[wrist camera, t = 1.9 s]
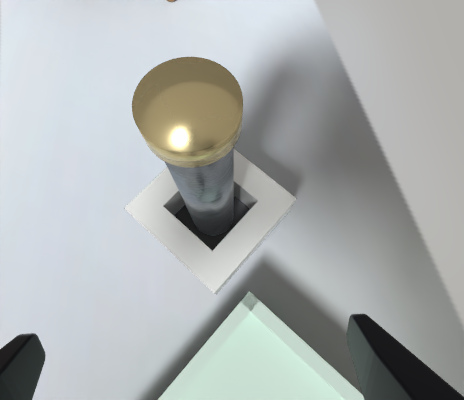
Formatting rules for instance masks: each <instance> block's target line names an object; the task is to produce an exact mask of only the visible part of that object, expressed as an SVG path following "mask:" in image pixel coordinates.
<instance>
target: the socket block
mask: <svg viewBox="0 0 464 400" xmlns="http://www.w3.org/2000/svg"><path fill="white" fill-rule="evenodd" d="M234 196H235V197H236V198H238V199H239V200H240V201H241V202H242V203H244V204H245V205H246V206H247V207H248V208H249V209H250V210H249V211H248V212H247V214H246V215H245V216H244V217H243V218H242V219H241V220H240V221H239V222H238V223H237V225H236V226H235V227H234V228H233V229H232V230H231V231H230V232H229V233H228V234H227V235H226V237H225V238H224V239H223V240H222V241H221V242H220V243H219V244H218V245H217V246H216V248H215V249H214V250H213V251H212V250H211V249H210V248H209V247H208V246H206V245H205V244H204V243H203V242H202V241H201V240H200V239H199V238H198V237H197V236H195V235H194V234H193V233H192V232H191V231H190V230H189V229H188V228H187V227H186V226H184V225H183V224H182V223H181V222H180V221H179V220H178V219H177V218H176V217H174V215H175V214H176V213H177V212H178V211H179V210H180V209H181V208H182V207H183V206H184V205H185V202H184V200H183V198H182V196H181V194H180V192H179V190H178V188H177V186H176V184H175V182H174V180H173V178H172V176H171V173H170V171H169V169H168V167H166V168H165V169H164V170H163V171H162V172H161V173H160V174H159V175H158V176H157V177H156V178H155V179H154V180H153V181H152V182H151V183H150V184H149V185H148V186H147V187H145V188H144V189H143V190H142V191H141V192H140V193H139V194H138V195H137V196H136V197H135V198H134V199H133V200H132V201H131V202H130V203H129V204H128V205H127V206H126V207H125V208H124V209H125V210H126V211H127V212H128V213H129V214H131V215H132V216H133V217H134V218H135V219H136V220H137V221H138V222H139V223H140V224H141V225H142V226H143V227H144V228H145V229H146V230H147V231H149V232H150V233H151V234H152V235H153V236H154V237H155V238H156V239H157V240H158V241H159V242H160V243H161V244H162V245H163V246H164V247H165V248H166V249H168V250H169V251H170V252H171V253H172V254H173V255H174V256H175V257H176V258H177V259H178V260H179V261H180V262H181V263H182V264H183V265H184V266H186V267H187V268H188V269H189V270H190V271H191V272H192V273H193V274H194V275H195V276H196V277H197V278H198V279H199V280H200V281H201V282H202V283H203V284H205V285H206V286H207V287H208V288H209V289H210V290H211V291H212V292H213V293H214V294H216V295H217V294H218V293H219V291H220V290H221V289H222V288H223V287H224V286H225V285H226V283H227V282H228V281H229V280H230V279H231V278H232V277H233V275H234V274H235V273H236V272H237V271H238V270H239V268H240V267H241V266H242V265H243V264H244V263H245V262H246V260H247V259H248V258H249V257H250V256H251V255H252V254H253V252H254V251H255V250H256V249H257V248H258V247H259V245H260V244H261V243H262V242H263V241H264V240H265V239H266V237H267V236H268V235H269V234H270V233H271V232H272V231H273V229H274V228H275V227H276V226H277V225H278V224H279V223H280V221H281V220H282V219H283V218H284V217H285V216H286V214H287V213H288V212H289V211H290V209H291V208H292V206H293V204H294V203H295V201H296V199H297V198H295V197H294V196H293V195H292V194H290V193H289V192H288V191H287V190H285V189H284V188H283V187H282V186H280V185H279V184H278V183H277V182H275V181H274V180H273V179H272V178H270V177H269V176H268V175H267V174H265V173H264V172H263V171H262V170H260V169H259V168H258V167H257V166H255V165H254V164H253V163H252V162H250V161H249V160H248V159H247V158H245V157H244V156H243V155H242V154H240V153H239V152H238V151H237V150H235V149H234Z"/></svg>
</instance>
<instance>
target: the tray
mask: <svg viewBox="0 0 464 400" xmlns="http://www.w3.org/2000/svg"><path fill="white" fill-rule="evenodd" d="M158 400H364V397H363V395H362V394H361V393H360V392H359V391H358V390H357V389H356V388H354V387H353V386H352V385H351V384H350V383H349V382H348V381H347V380H346V379H345V378H344V377H342V376H341V375H340V374H339V373H338V372H337V371H336V370H335V369H334V368H333V367H332V366H330V365H329V364H328V363H327V362H326V361H325V360H324V359H323V358H322V357H321V356H319V355H318V354H317V353H316V352H315V351H314V350H313V349H312V348H311V347H310V346H309V345H307V344H306V343H305V342H304V341H303V340H302V339H301V338H300V337H299V336H298V335H297V334H295V333H294V332H293V331H292V330H291V329H290V328H289V327H288V326H287V325H286V324H285V323H283V322H282V321H281V320H280V319H279V318H278V317H277V316H276V315H275V314H274V313H272V312H271V311H270V310H269V309H268V308H267V307H266V306H265V305H264V304H263V303H262V302H260V301H259V300H258V299H257V298H256V297H255V296H254V295H253V294H252V293H251V292H250V291H249V292H248V293H247V294H246V295H245V296H244V298H243V299H242V300H241V301H240V302H239V303H238V305H237V306H236V307H235V308H234V309H233V311H232V312H231V313H230V314H229V315H228V317H227V318H226V319H225V320H224V321H223V322H222V324H221V325H220V326H219V327H218V328H217V330H216V331H215V332H214V333H213V334H212V335H211V337H210V338H209V339H208V340H207V341H206V343H205V344H204V345H203V346H202V347H201V349H200V350H199V351H198V352H197V353H196V354H195V356H194V357H193V358H192V359H191V360H190V362H189V363H188V364H187V365H186V366H185V367H184V369H183V370H182V371H181V372H180V373H179V375H178V376H177V377H176V378H175V379H174V381H173V382H172V383H171V384H170V385H169V386H168V388H167V389H166V390H165V391H164V392H163V394H162V395H161V396H160V397H159V398H158Z"/></svg>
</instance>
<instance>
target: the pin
mask: <svg viewBox="0 0 464 400" xmlns="http://www.w3.org/2000/svg"><path fill="white" fill-rule="evenodd" d="M132 112H133V117H134V120H135V123H136V125H137V127H138V128H139V130H140V132H141V134H142V136H143V138H144V140H145V141H146V143H147V145H148V147H149V148H150V149H151V151H152V152H153V153H154V154H155V155H156V156H157V157H159V158H160V159H161V160H163V161H165V163H166V165H167V167H168V169H169V171H170V173H171V176H172V178H173V180H174V182H175V184H176V186H177V188H178V190H179V192H180V194H181V196H182V198H183V200H184V202H185V205H186V207H187V209H188V211H189V213H190V215H191V217H192V219H193V221H194V223H195V225H196V227H197V228H198V229H199V230H200V231H201V232H202V233H204V234H207V235H219V234H222V233H224V232H225V231H227V230H228V229H229V227H230V226H231V224H232V222H233V217H234V145H235V144H236V142H237V140H238V138H239V136H240V132H241V128H242V112H243V97H242V92H241V89H240V86H239V84H238V82H237V80H236V79H235V77H234V76H233V75H232V74H231V73H230V72H229V71H228V70H227V69H226V68H224V67H223V66H221V65H220V64H218V63H216V62H214V61H211V60H208V59H204V58H198V57H181V58H176V59H172V60H169V61H166V62H164V63H162V64H160V65H158V66H156V67H155V68H153V69H152V70H151V71H149V72H148V73H147V74H146V75H145V76H144V77H143V79H142V80H141V81H140V83H139V84H138V86H137V88H136V90H135V92H134V96H133V101H132Z"/></svg>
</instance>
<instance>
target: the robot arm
mask: <svg viewBox="0 0 464 400" xmlns="http://www.w3.org/2000/svg"><path fill="white" fill-rule="evenodd" d="M347 342H348V346H349V349H350V353H351V356H352V359H353V363H354V366H355V370H356V373H357V377H358V380H359V384H360V387H361V391H362V394H363V397H364V400H464V397H463V396H462V395H461V394H460V393H458V392H457V391H456V390H455V389H454V388H453V387H451V386H450V385H449V384H448V383H447V382H445V381H444V380H443V379H442V378H441V377H440V376H438V375H437V374H436V373H435V372H434V371H432V370H431V369H430V368H429V367H428V366H427V365H425V364H424V363H423V362H422V361H421V360H419V359H418V358H417V357H416V356H415V355H414V354H412V353H411V352H410V351H409V350H408V349H406V348H405V347H404V346H403V345H402V344H401V343H399V342H398V341H397V340H396V339H395V338H393V337H392V336H391V335H390V334H389V333H388V332H386V331H385V330H384V329H383V328H382V327H380V326H379V325H378V324H377V323H376V322H375V321H373V320H372V319H371V318H370V317H369V316H367V315H366V314H352V315H351V316H350V318H349V324H348V330H347ZM44 361H45V351H44V349H43V347H42V344H41V342H40V340H39V338H38V336H37V335H36V334H34V333H31V334H21V335H18V336H17V337H15V338H14V339H13V340H12V341H10V342H9V343H8V344H6V345H5V346H4V347H3V348H1V349H0V400H32V398H33V395H34V392H35V389H36V386H37V383H38V380H39V377H40V374H41V371H42V368H43V365H44Z"/></svg>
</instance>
